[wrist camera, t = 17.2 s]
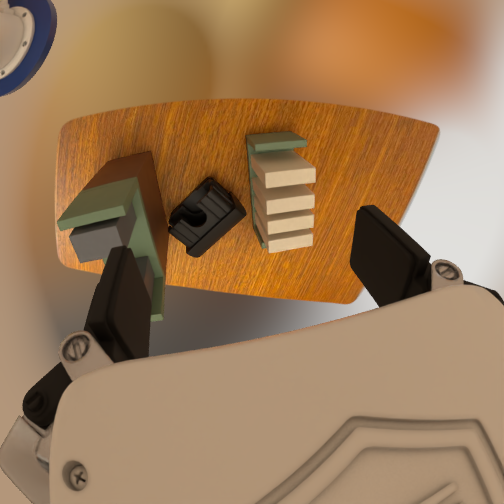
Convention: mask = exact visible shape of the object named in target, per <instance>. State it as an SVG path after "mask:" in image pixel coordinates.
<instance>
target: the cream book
mask: <svg viewBox="0 0 504 504" xmlns="http://www.w3.org/2000/svg"><path fill="white" fill-rule="evenodd" d="M250 156H251V167H252V168H253V170H254V171H255V173H256V174H257V176H258V177H259V179H260V180H261V182H262V183H263V185H264V186H265V188H272V187H280V186H288V185H296V184H305V183H314V182H315V176H316V168H315V167H314V166H313V165H311V164H310V163H309V162H307V161H306V160H305V159H303V158H302V157H301V156H299V155H298V154H297V153H295V152H294V151H293V150H289V151H278V152H269V153H259V154H251V155H250Z"/></svg>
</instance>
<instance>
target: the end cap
mask: <svg viewBox="0 0 504 504" xmlns="http://www.w3.org/2000/svg"><path fill="white" fill-rule="evenodd" d="M245 216H246V210H245V209H244V207H243V206H242V204H241V203H240V202H239V200H238V199H237V198H236V197H235V196H234V195H233V194H232V193H231V192H229V193H228V192H227V191H226V190H225V189H224V188H223V187H222V186H221V185H220V184H219V183H217V182H216V181H215V180H214V179H213V178H212V177H207V178H206V179H205V180H204V181H203V182H202V183H201V184H200V185H199V186H198V187H197V188H196V189H195V190H194V191H193V192H192V193H191V194H190V195H189V196H188V197H187V198H186V199H185V200H184V201H183V202H182V203H181V204H180V205H179V206H178V207H177V208H176V209H175V210H174V211H173V212H172V213H171V217H170V219H169V224H170V225H171V226H172V227H171V226H169V227H168V232H169V233H170V234H171V235H173V236H174V237H175V238H177V239H178V240H179V241H180V242H182V243H183V244H184V245H186V253H187V254H188V255H190V256H192V257H196V258H198V257H200V256H201V255H203V254H204V253H205V252H206V251H207V250H208V249H209V248H210V247H211V246H212V245H214V244H215V243H216V242H217V241H218V240H219V239H220V238H221V237H222V236H224V235H225V234H226V233H227V232H228V231H229V230H230V229H231V228H233V227H234V226H235V225H236V224H237V223H238V222H239V221H240V220H242V219H243V218H244V217H245Z"/></svg>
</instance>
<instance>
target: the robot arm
mask: <svg viewBox="0 0 504 504" xmlns="http://www.w3.org/2000/svg"><path fill="white" fill-rule="evenodd" d="M34 32H35V20H34V17H33V14H32V13H31V11H30V10H28V9H27V8H24V7H12V8H9V4H8V0H0V79H3V78H5V77H6V76H8V75H9V74H11V73H12V72H13V71H14V70H15V69H16V68H17V67H18V66H19V64H20V63H21V62H22V61H23V59H24V57H25V56H26V54H27V52H28V50H29V48H30V46H31V43H32V40H33V36H34ZM430 257H431V256H430V255H429V254H428V253H427V252H426V251H425V250H424V249H423V248H422V247H421V246H420V245H419V244H418V243H417V242H416V241H415V240H413V239H412V238H411V237H410V236H409V235H408V234H407V233H406V232H405V231H404V230H403V229H401V228H400V227H399V226H398V225H397V224H396V223H395V222H394V221H392V220H391V219H390V218H389V217H388V216H387V215H385V214H384V213H383V212H382V211H381V210H380V209H378V208H377V207H376V206H375V205H367V206H361V207H360V209H359V210H358V211H357V214H356V221H355V229H354V236H353V243H352V250H351V256H350V266H351V268H352V270H353V271H354V273H355V274H356V275H357V277H358V278H359V279H360V281H361V282H362V283H363V285H364V286H365V288H366V289H367V290H368V292H369V293H370V295H371V296H372V297H373V299H374V300H375V302H376V303H377V305H378V306H379V308H376V309H373V310H370V311H366V312H362V313H359V314H355V315H352V316H348V317H345V318H341V319H337V320H334V321H330V322H326V323H322V324H318V325H314V326H311V327H306V328H302V329H299V330H294V331H290V332H285V333H281V334H277V335H272V336H267V337H263V338H258V339H253V340H248V341H244V342H238V343H233V344H228V345H222V346H217V347H211V348H205V349H199V350H193V351H186V352H180V353H174V354H167V355H160V356H153V357H148V356H149V336H150V321H151V308H152V304H151V299H150V296H149V294H148V291H147V289H146V286H145V284H144V281H143V278H142V276H141V273H140V270H139V268H138V265H137V262H136V260H135V257H134V254H133V251H132V249H131V248H127V247H126V245H122V246H117V247H113V248H111V250H110V253H109V256H108V259H107V261H106V264H105V267H104V270H103V273H102V276H101V279H100V282H99V283H98V284H97V287H96V289H95V292H94V295H93V299H92V302H91V305H90V309H89V313H88V316H87V319H86V324H85V327H84V331H76V332H73V333H71V334H70V335H68V336H67V337H66V338H65V339H64V340H63V341H62V343H61V344H60V347H59V354H58V355H59V358H60V360H61V362H60V363H59V364H57V365H56V366H55V367H54V368H53V369H52V370H51V371H50V372H49V373H47V374H46V375H45V376H44V377H43V378H42V379H41V380H40V381H38V382H37V383H36V384H35V385H34V386H33V387H32V388H31V389H30V390H29V391H28V392H27V393H26V395H25V397H24V400H23V411H24V415H23V417H21V416H18V418H17V420H16V421H15V423H14V425H13V426H12V428H11V430H10V431H9V433H8V435H7V437H6V439H5V441H4V442H3V444H2V446H1V448H0V467H1V469H2V471H3V472H4V473H5V474H6V475H7V477H8V478H9V479H10V480H11V481H12V482H13V483H14V485H15V486H16V487H17V488H18V489H19V490H20V491H21V492H22V493H23V494H24V495H25V496H26V497H27V498H28V499H29V500H30V501H31V502H32V503H33V504H504V301H503V300H502V298H501V296H500V295H499V294H498V293H497V292H496V291H494V290H491V289H488V288H485V287H482V286H479V285H476V284H473V283H471V282H468V281H465V280H463V275H462V272H461V270H460V269H459V267H457V266H456V265H455V264H454V263H452V262H450V261H447V260H442V259H440V260H436V261H434V262H433V263H432V265H431V264H430V263H429V260H430Z"/></svg>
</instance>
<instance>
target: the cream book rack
mask: <svg viewBox="0 0 504 504" xmlns="http://www.w3.org/2000/svg"><path fill="white" fill-rule="evenodd" d="M246 144H247V156H248V169H249V181H250V193H251V206H252V218H253V228H254V231H255V233H256V236H257V238H258V240H259V243H260V245H261V248H262V249H263V248H267V250H268V252H269V253H273V252H279V251H284V250H290V249H295V248H301V247H307V246H312V244H313V233H312V232H311V230H310V229H309V228H313V224H314V214H313V213H312V212H311V211H310V210H309V209H310V208H314V199H315V194H314V193H313V192H312V191H311V190H310V189H309V188H308V187H307V186H306V185H305V184H296V185H288V186H280V187H272V188H265V186H264V185H263V183H262V182H261V180H260V179H259V177H258V176H257V174H256V173H255V171H254V170H253V168H252V167H251V156H250V155H251V154H259V153H269V152H278V151H289V150H293V148H299V147H307V140H306V139H304V138H302V137H300V136H299V135H297V134H295V133H293V132H291V131H287V132H274V133H263V134H253V135H246Z"/></svg>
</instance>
